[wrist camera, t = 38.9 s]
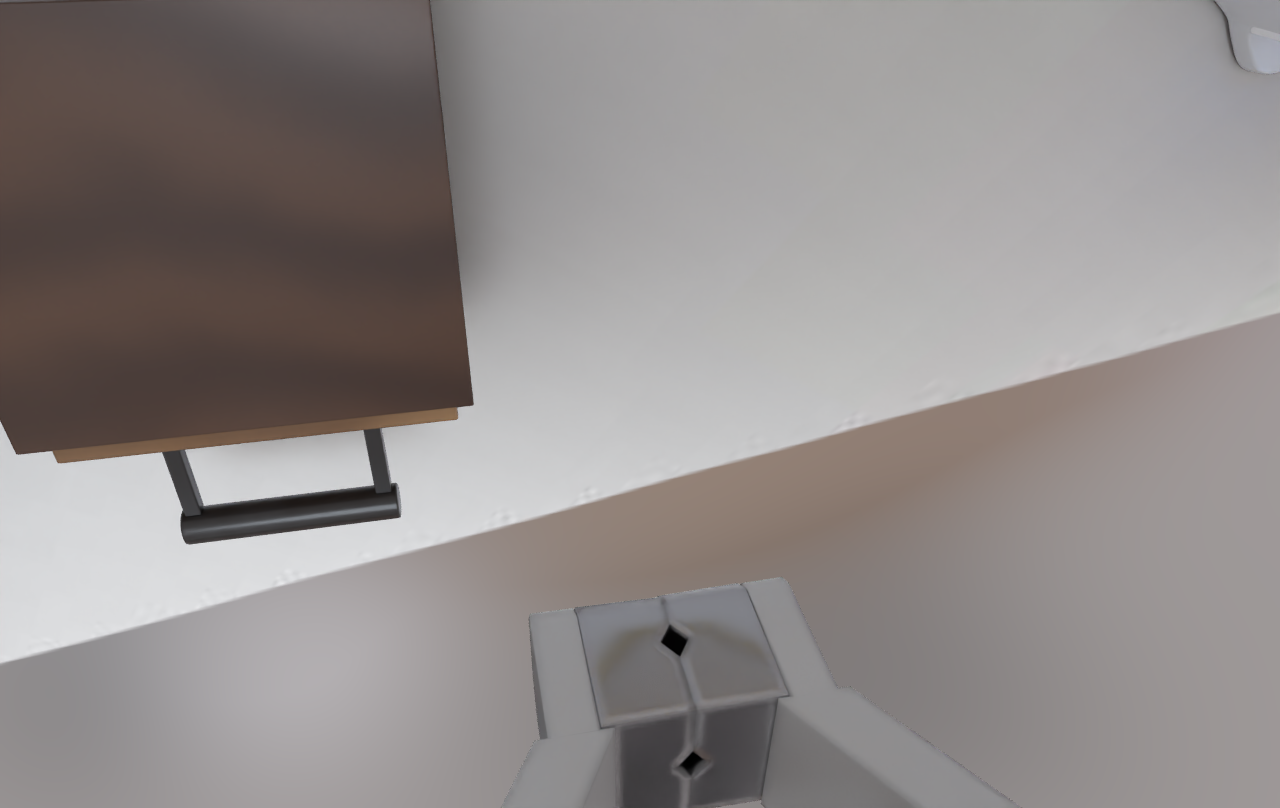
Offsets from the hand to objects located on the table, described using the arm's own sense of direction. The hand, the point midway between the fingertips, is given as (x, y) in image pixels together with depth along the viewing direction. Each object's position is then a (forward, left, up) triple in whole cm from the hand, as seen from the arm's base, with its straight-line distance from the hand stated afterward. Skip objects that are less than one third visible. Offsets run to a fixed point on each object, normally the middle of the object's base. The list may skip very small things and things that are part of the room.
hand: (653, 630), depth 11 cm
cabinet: (+9, +4, -29) cm, 31 cm away
